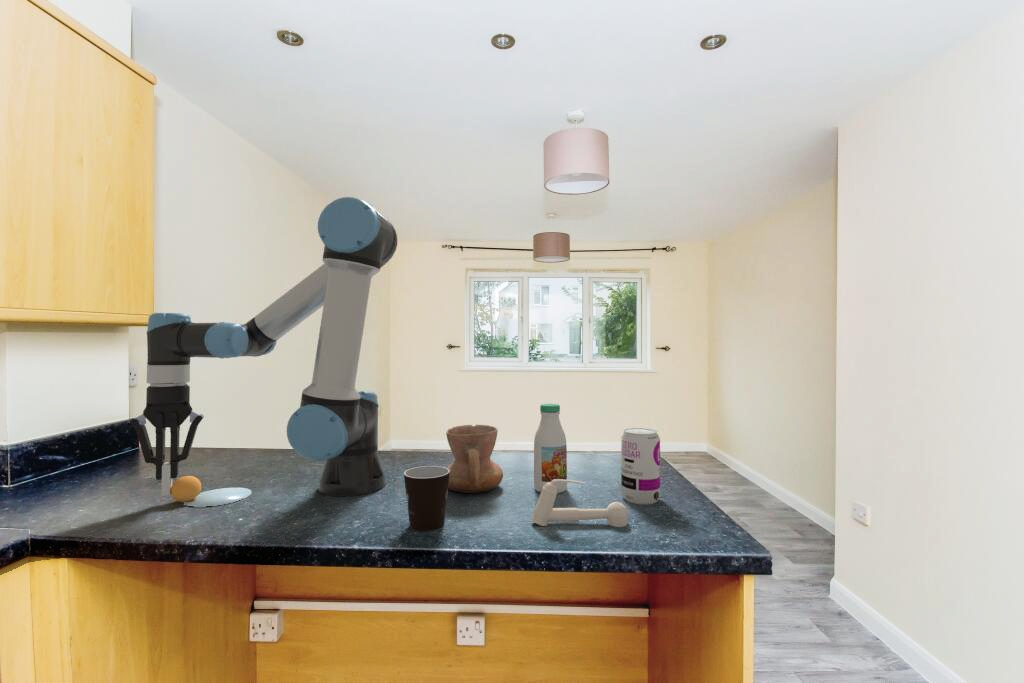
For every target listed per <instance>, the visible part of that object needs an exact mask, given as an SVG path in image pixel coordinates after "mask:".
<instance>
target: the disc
mask: <svg viewBox="0 0 1024 683" xmlns="http://www.w3.org/2000/svg"><path fill="white" fill-rule="evenodd" d="M252 494H253V493H252V489H249V488H247V487H223V488H216V489H210V490H205V491H202V492H201V491H200V494H199V495H198V496H197V497H196V498H194V499H193V500H191V501H187V502H182V504H183V503H184V504H185V505H187V506H186V507H188V506H194V507H193V508H207V507H206V506H213V507H219V506H218V505H220V506H225V505H230V504H233V502H234V503H236V501H237V502H239V500H240V501H243V500H244V499H247V498H249V497H250V496H251V495H252ZM242 499H243V500H242ZM229 503H230V504H229ZM184 504H183V505H184ZM224 504H225V505H224ZM185 505H184V506H185Z"/></svg>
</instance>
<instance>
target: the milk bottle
mask: <svg viewBox="0 0 1024 683" xmlns="http://www.w3.org/2000/svg"><path fill="white" fill-rule="evenodd" d="M539 407H540V408H539V409H540V415H541V416H540V422H539V425H538V427H537V429H536V431H535V434H534V440H533V487H534V490H535V491H536V492H538V493H541V491H542V488H543V486H544V485H545V484H546V483H548V482H550V483H551V481H552V480H554V479H563V480H568V476H567V475H568V460H567V458H568V455H567V454H568V451H567V437H566V433H565V431H564V429H563V427H562V424H561V420H560V413H561V412H560V411H561V406H560V404H558V403H542V404H540V406H539ZM555 485H556V487H557V494H561V493H562V494H563V493H564V492H566V490H567V488H568V482H562V483H556V484H555Z"/></svg>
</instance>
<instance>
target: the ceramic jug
mask: <svg viewBox="0 0 1024 683" xmlns="http://www.w3.org/2000/svg"><path fill="white" fill-rule="evenodd" d="M445 433H446V434H445V435H446V439H447V442H448V446H449V448H450V451H451V453H452V455H453V458H454V461H453V462H452V463H451V464H449V465H448V466H447V467H446V468H448V469H449V470H450V474H449V483H448V489H450V490H452V491H455V492H459V493H464V494H477V493H483V492H484V493H485V492H488V491H490V490H491V491H492V489H495V488H496V487H498V486H499V485H500V484H501V482H502V481H503V478H504V472H503V469H502V468H501V467H500V465H499V464H497V463H496V462H494V460H492V459H491V457H492V453H493V451H494V449H495V446H496V442H497V438H498V428H497V427H496V426H493V425H489V424H488V425H487V424H475V425H472V424H463V425H455V426H453V427H451V428H448V429H446V431H445Z"/></svg>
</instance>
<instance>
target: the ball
mask: <svg viewBox="0 0 1024 683" xmlns="http://www.w3.org/2000/svg"><path fill="white" fill-rule="evenodd" d="M201 491H202V483H201V480H199V478H197V477H195V476H194V475H185V476H181V477H179V478H178V479H177V480H175V481H174V482H173V483H172V487H171V494H170V496H171V497H172V498H173V499H174V500H175V501H177V502H179V503H183V502H187V501H191V500H193V499H194V498H196V497H197V496H198V495H199V493H201Z"/></svg>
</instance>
